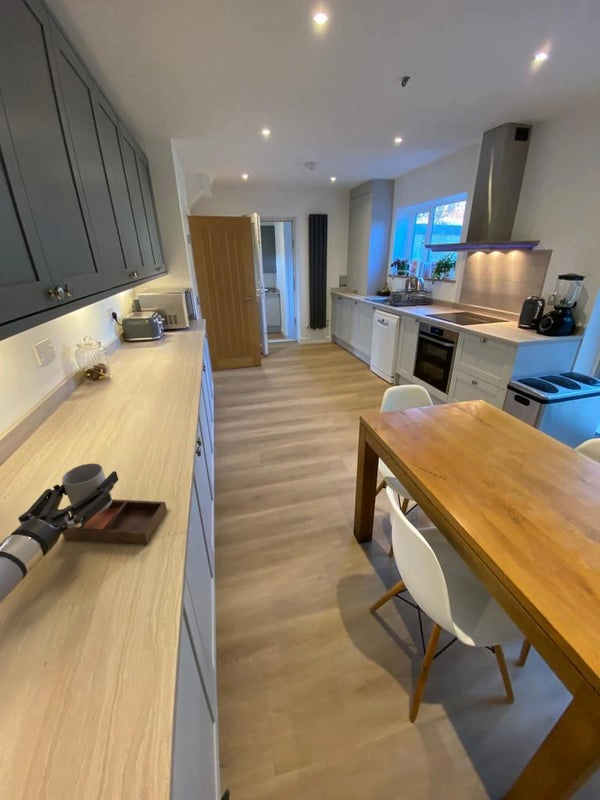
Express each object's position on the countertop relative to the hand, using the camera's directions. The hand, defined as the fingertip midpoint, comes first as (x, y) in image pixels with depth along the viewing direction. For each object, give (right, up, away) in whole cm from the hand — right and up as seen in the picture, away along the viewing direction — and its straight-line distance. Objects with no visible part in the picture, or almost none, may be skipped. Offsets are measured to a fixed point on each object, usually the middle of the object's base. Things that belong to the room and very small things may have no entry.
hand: (99, 475), depth 84 cm
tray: (+5, -13, +1) cm, 14 cm away
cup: (0, -8, -2) cm, 8 cm away
